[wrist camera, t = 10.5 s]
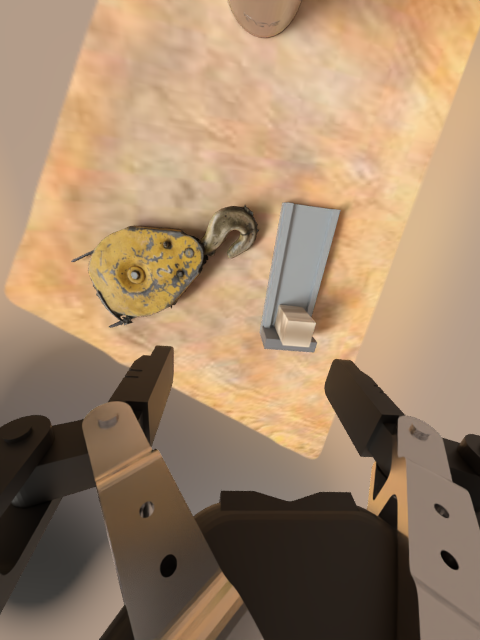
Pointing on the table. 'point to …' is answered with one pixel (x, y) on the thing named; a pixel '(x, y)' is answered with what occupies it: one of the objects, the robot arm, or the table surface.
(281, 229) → the rail
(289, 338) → the block
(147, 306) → the pulley block
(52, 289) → the table surface
